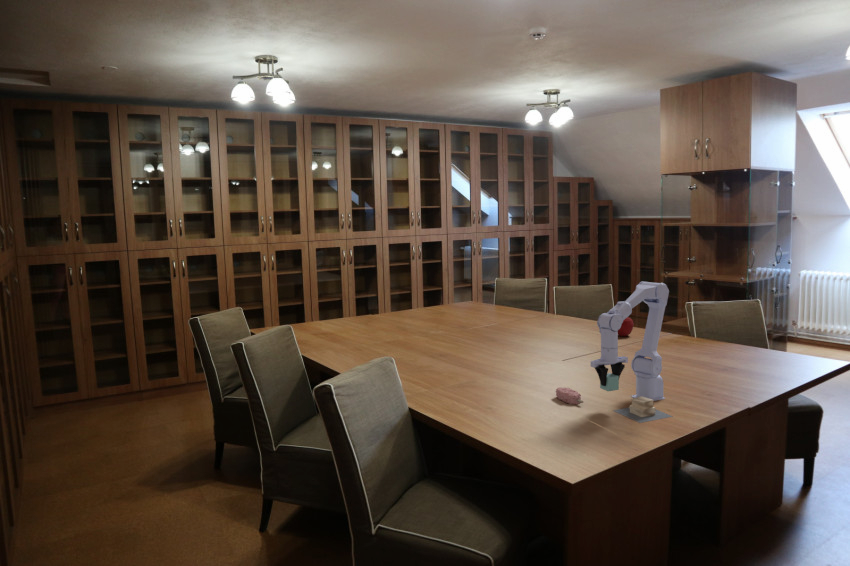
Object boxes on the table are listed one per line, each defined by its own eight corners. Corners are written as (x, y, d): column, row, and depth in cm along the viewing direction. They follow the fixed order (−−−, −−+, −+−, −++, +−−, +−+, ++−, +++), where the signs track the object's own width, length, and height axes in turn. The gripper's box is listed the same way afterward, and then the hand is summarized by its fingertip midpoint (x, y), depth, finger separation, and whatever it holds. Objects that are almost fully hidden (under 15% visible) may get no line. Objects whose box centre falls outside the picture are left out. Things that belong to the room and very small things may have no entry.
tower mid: (641, 403, 209) (641, 396, 209) (653, 406, 205) (653, 399, 205) (631, 405, 207) (631, 399, 207) (643, 409, 203) (643, 402, 202)
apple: (630, 338, 326) (630, 317, 324) (611, 337, 332) (611, 316, 330) (635, 334, 335) (635, 314, 334) (616, 333, 341) (616, 313, 339)
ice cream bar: (574, 398, 215) (552, 387, 228) (574, 409, 215) (552, 397, 229) (589, 395, 217) (566, 384, 230) (589, 406, 217) (566, 395, 231)
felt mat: (644, 405, 215) (644, 404, 215) (673, 417, 202) (673, 416, 202) (612, 411, 210) (612, 410, 210) (640, 423, 197) (640, 422, 197)
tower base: (643, 409, 210) (643, 402, 210) (655, 414, 205) (655, 407, 204) (629, 412, 208) (629, 405, 208) (641, 417, 202) (641, 410, 202)
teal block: (610, 386, 214) (610, 373, 214) (618, 389, 210) (618, 376, 209) (600, 388, 213) (600, 374, 212) (608, 391, 208) (608, 377, 208)
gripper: (618, 342, 216) (618, 378, 217) (585, 347, 211) (585, 384, 212) (631, 346, 209) (631, 383, 211) (597, 351, 204) (597, 389, 206)
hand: (609, 384), depth 211 cm, fingers closed on teal block, 4 cm apart
